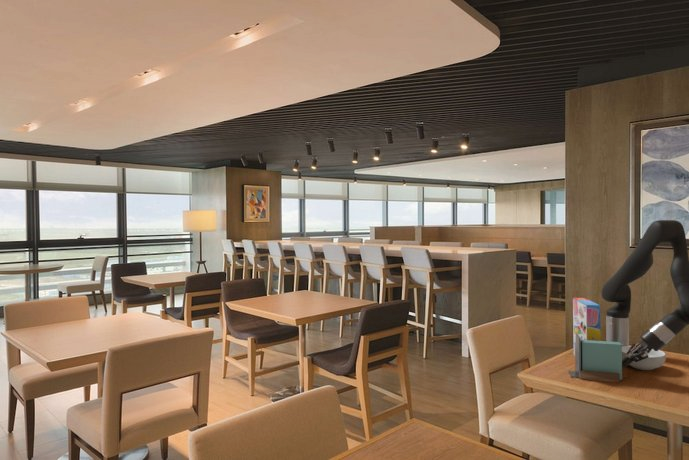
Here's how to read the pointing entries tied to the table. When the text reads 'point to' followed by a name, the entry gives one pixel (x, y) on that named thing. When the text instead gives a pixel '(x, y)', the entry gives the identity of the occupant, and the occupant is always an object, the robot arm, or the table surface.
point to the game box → (586, 320)
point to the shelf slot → (597, 374)
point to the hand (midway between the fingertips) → (622, 365)
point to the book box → (601, 356)
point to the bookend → (577, 358)
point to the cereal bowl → (647, 359)
